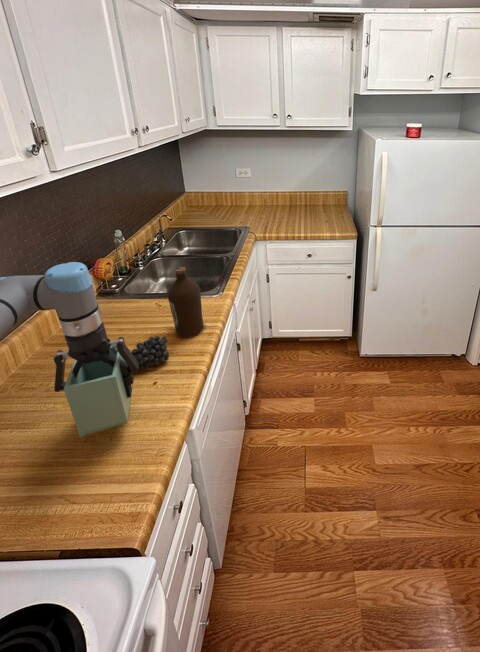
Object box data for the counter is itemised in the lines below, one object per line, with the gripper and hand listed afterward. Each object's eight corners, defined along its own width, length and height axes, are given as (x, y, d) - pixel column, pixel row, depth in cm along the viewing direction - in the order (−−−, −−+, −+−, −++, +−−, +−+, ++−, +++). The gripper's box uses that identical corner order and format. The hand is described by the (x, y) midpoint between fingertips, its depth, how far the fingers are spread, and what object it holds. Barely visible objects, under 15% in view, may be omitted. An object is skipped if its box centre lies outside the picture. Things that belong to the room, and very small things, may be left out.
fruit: (113, 354, 96) (168, 336, 103) (115, 345, 104) (166, 329, 111) (120, 381, 97) (174, 362, 104) (121, 370, 105) (172, 353, 112)
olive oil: (202, 317, 128) (194, 259, 119) (207, 333, 119) (199, 272, 110) (173, 325, 123) (162, 265, 114) (175, 342, 115) (164, 279, 105)
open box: (115, 376, 76) (122, 343, 86) (63, 389, 72) (77, 352, 83) (127, 423, 81) (132, 386, 92) (79, 437, 78) (90, 397, 88)
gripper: (15, 351, 68) (46, 427, 76) (137, 326, 76) (154, 397, 84) (29, 329, 75) (56, 402, 83) (140, 308, 83) (155, 376, 91)
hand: (105, 399), depth 84 cm, fingers closed on open box, 10 cm apart
